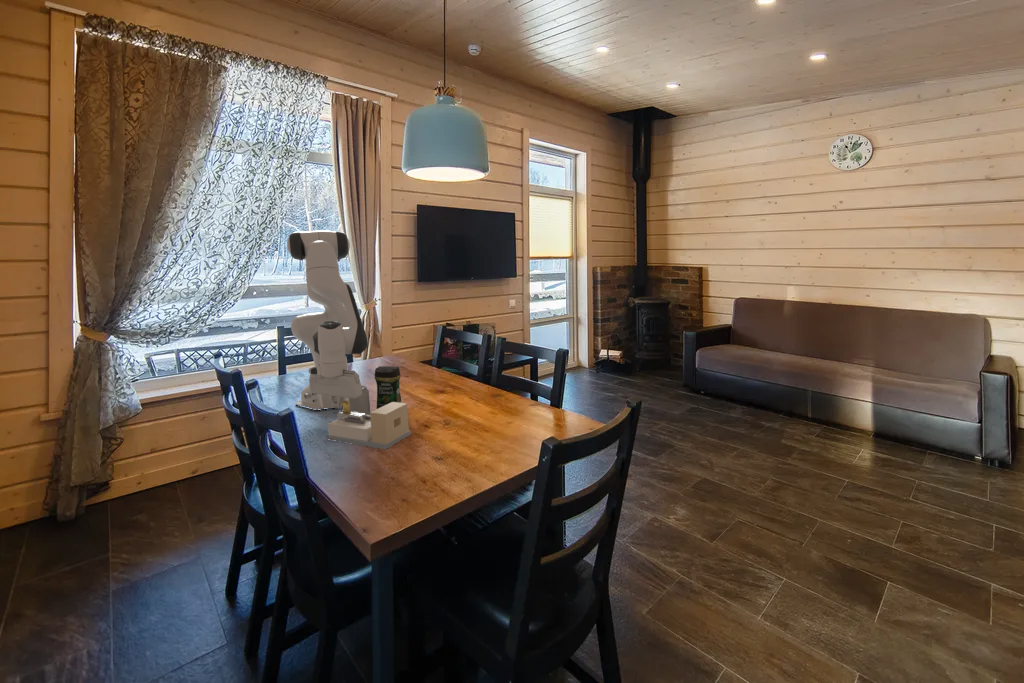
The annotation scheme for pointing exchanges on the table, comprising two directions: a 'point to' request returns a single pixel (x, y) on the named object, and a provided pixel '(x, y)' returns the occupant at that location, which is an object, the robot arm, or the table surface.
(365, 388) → the can
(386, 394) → the coffee jar
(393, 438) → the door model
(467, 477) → the table surface
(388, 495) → the table surface
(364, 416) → the bolt
